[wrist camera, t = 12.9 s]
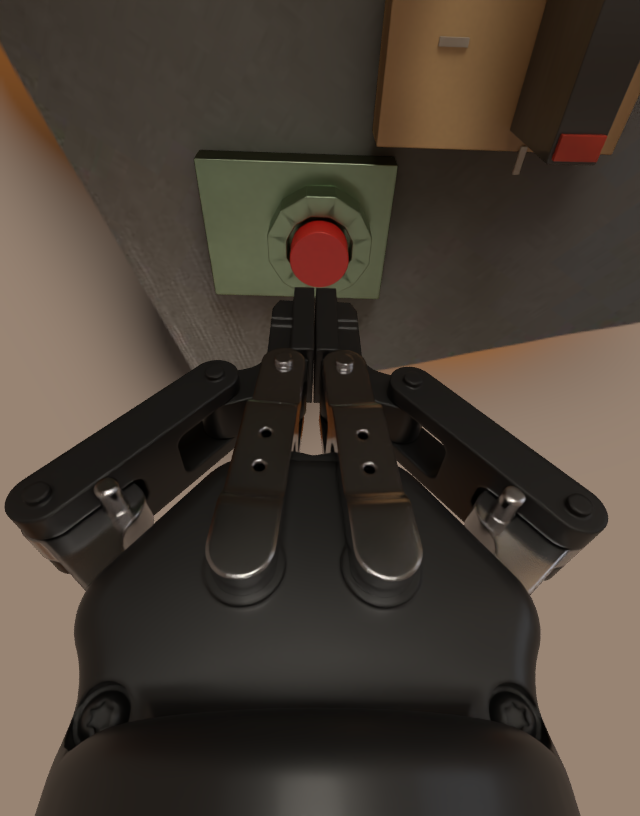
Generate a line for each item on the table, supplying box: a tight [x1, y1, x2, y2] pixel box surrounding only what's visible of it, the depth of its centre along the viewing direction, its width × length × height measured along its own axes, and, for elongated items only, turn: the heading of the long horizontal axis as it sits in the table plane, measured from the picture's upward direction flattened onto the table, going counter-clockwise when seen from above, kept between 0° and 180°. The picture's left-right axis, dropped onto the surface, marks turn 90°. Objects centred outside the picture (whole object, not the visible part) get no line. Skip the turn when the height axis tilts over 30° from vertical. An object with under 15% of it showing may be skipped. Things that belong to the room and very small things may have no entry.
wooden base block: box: [372, 0, 640, 175], centre depth 21 cm, size 14×11×3 cm
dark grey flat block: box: [510, 0, 640, 165], centre depth 18 cm, size 7×2×6 cm, turn 179°
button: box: [290, 220, 349, 287], centre depth 27 cm, size 4×4×2 cm
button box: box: [194, 150, 398, 299], centre depth 29 cm, size 12×9×4 cm
